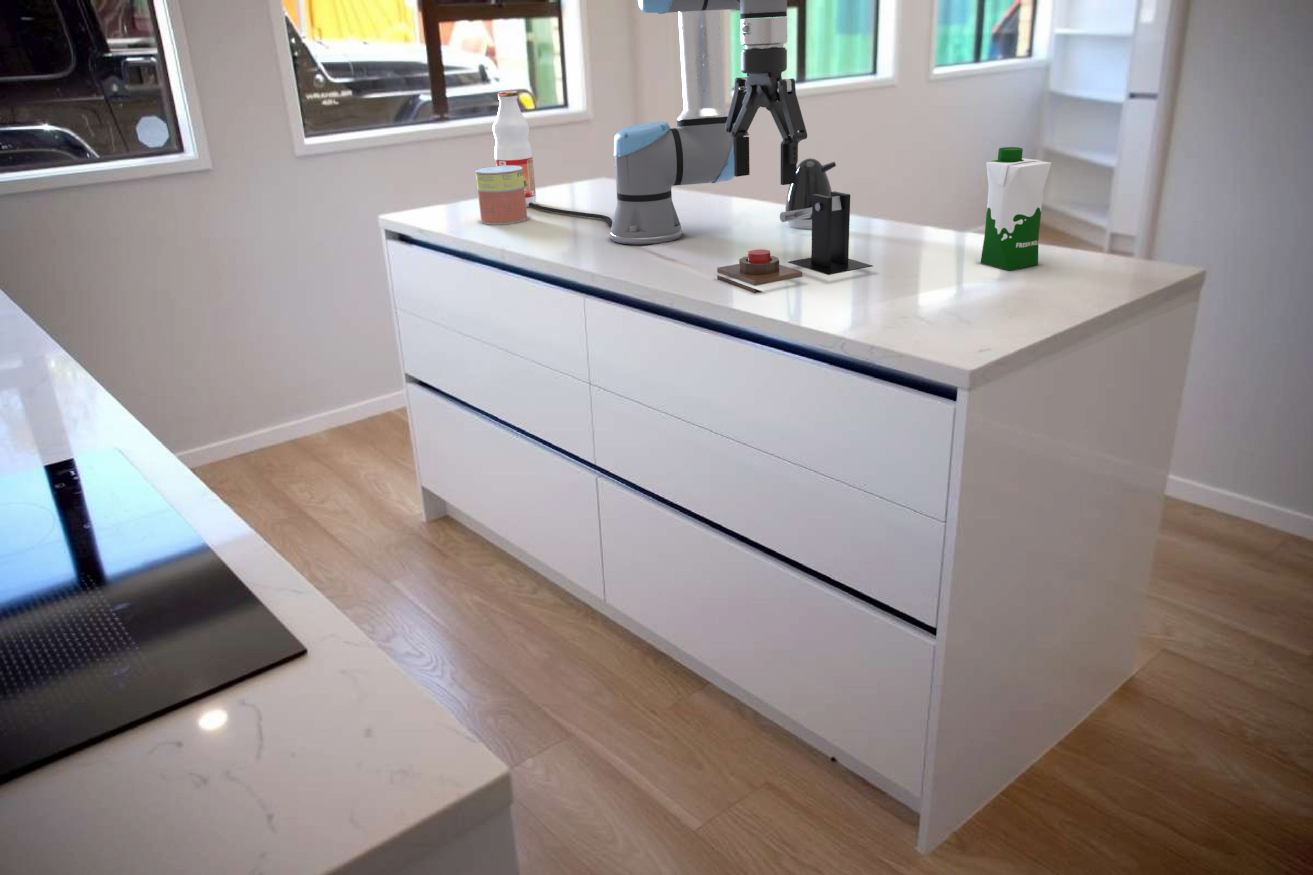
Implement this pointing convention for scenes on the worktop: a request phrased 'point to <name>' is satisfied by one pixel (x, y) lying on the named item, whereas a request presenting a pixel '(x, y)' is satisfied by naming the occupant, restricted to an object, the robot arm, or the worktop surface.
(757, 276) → the button box
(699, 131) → the robot arm
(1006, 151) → the milk carton
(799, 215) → the tap lever
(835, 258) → the black lever stand
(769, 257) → the button
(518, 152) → the fruit juice
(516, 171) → the canned food
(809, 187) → the pump dispenser
